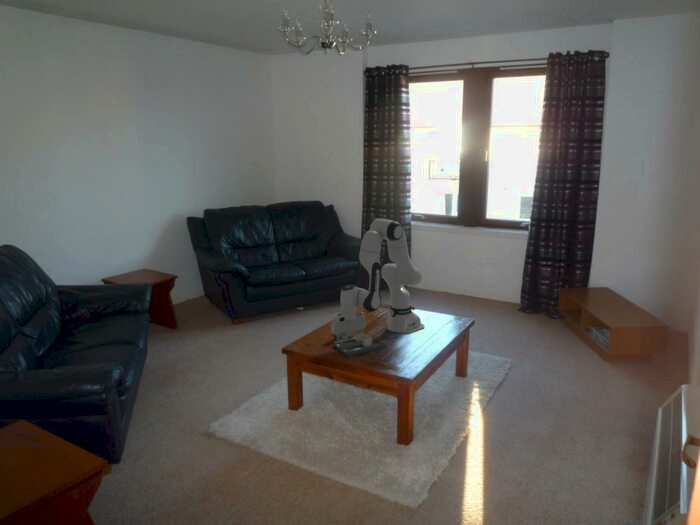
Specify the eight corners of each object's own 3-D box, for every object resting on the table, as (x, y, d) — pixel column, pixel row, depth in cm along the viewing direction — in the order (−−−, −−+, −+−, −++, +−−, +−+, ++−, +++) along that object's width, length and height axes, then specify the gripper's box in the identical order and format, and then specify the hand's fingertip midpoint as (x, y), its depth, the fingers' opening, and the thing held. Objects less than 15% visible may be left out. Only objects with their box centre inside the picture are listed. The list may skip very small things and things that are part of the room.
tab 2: (368, 343, 280) (368, 334, 279) (371, 345, 278) (372, 336, 276) (362, 345, 278) (362, 335, 277) (365, 347, 276) (365, 337, 274)
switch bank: (365, 339, 291) (365, 334, 291) (380, 349, 278) (380, 344, 277) (333, 346, 282) (333, 341, 281) (348, 356, 268) (348, 351, 268)
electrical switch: (338, 342, 286) (337, 326, 285) (331, 341, 290) (330, 325, 288) (348, 338, 293) (347, 322, 292) (341, 336, 297) (340, 321, 295)
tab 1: (361, 338, 287) (361, 329, 286) (364, 340, 284) (364, 331, 283) (355, 340, 285) (355, 330, 284) (357, 342, 282) (357, 332, 281)
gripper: (362, 309, 285) (362, 333, 289) (329, 316, 276) (329, 340, 279) (368, 313, 280) (368, 337, 283) (334, 319, 270) (335, 344, 274)
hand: (348, 338), depth 281 cm, fingers closed
